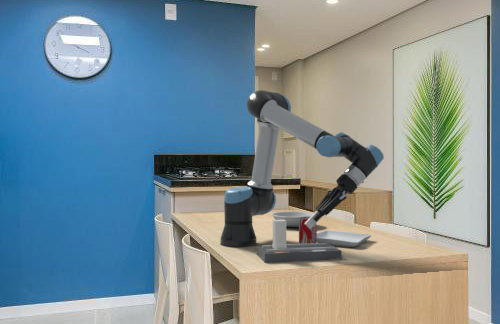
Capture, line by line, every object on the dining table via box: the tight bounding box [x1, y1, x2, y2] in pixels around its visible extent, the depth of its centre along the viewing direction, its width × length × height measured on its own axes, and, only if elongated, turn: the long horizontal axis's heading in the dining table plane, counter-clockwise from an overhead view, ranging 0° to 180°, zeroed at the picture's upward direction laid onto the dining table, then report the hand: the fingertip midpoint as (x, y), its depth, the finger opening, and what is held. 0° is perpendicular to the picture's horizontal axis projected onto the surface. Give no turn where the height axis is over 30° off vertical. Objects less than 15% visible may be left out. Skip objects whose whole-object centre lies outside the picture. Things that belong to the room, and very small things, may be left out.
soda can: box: [298, 216, 318, 244], centre depth 182 cm, size 7×7×12 cm
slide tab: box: [271, 219, 287, 249], centre depth 163 cm, size 6×4×10 cm, turn 11°
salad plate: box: [316, 230, 372, 248], centre depth 192 cm, size 21×21×3 cm
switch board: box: [256, 243, 342, 263], centre depth 164 cm, size 13×28×4 cm, turn 101°
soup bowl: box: [270, 210, 315, 228], centre depth 236 cm, size 24×24×7 cm
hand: (307, 226), depth 165 cm, fingers closed
